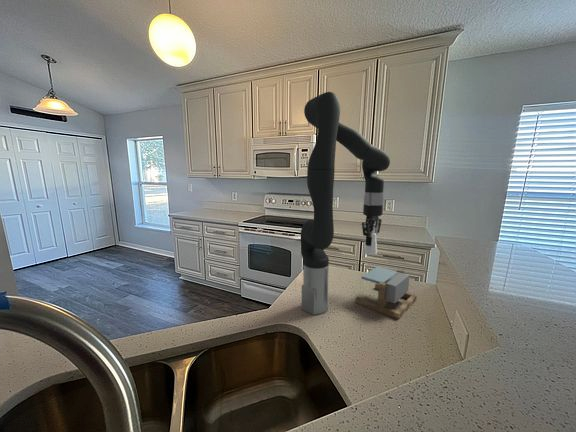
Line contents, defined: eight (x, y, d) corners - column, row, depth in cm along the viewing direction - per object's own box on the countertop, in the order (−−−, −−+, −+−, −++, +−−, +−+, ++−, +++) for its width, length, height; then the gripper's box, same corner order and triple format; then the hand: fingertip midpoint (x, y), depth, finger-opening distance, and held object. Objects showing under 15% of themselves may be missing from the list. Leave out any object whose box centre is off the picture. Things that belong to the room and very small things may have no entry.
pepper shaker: (363, 254, 101) (365, 228, 99) (363, 250, 106) (364, 225, 104) (377, 255, 99) (379, 228, 98) (376, 251, 105) (378, 226, 103)
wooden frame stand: (398, 319, 84) (400, 289, 82) (355, 302, 96) (356, 276, 94) (416, 299, 97) (418, 273, 96) (376, 287, 109) (377, 263, 107)
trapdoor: (394, 303, 87) (395, 286, 86) (361, 291, 96) (361, 275, 95) (408, 290, 97) (409, 274, 96) (376, 281, 106) (377, 266, 105)
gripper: (372, 201, 107) (369, 239, 110) (356, 204, 97) (354, 246, 100) (389, 203, 102) (386, 243, 105) (374, 205, 92) (371, 249, 94)
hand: (370, 244), depth 102 cm, fingers closed on pepper shaker, 3 cm apart
